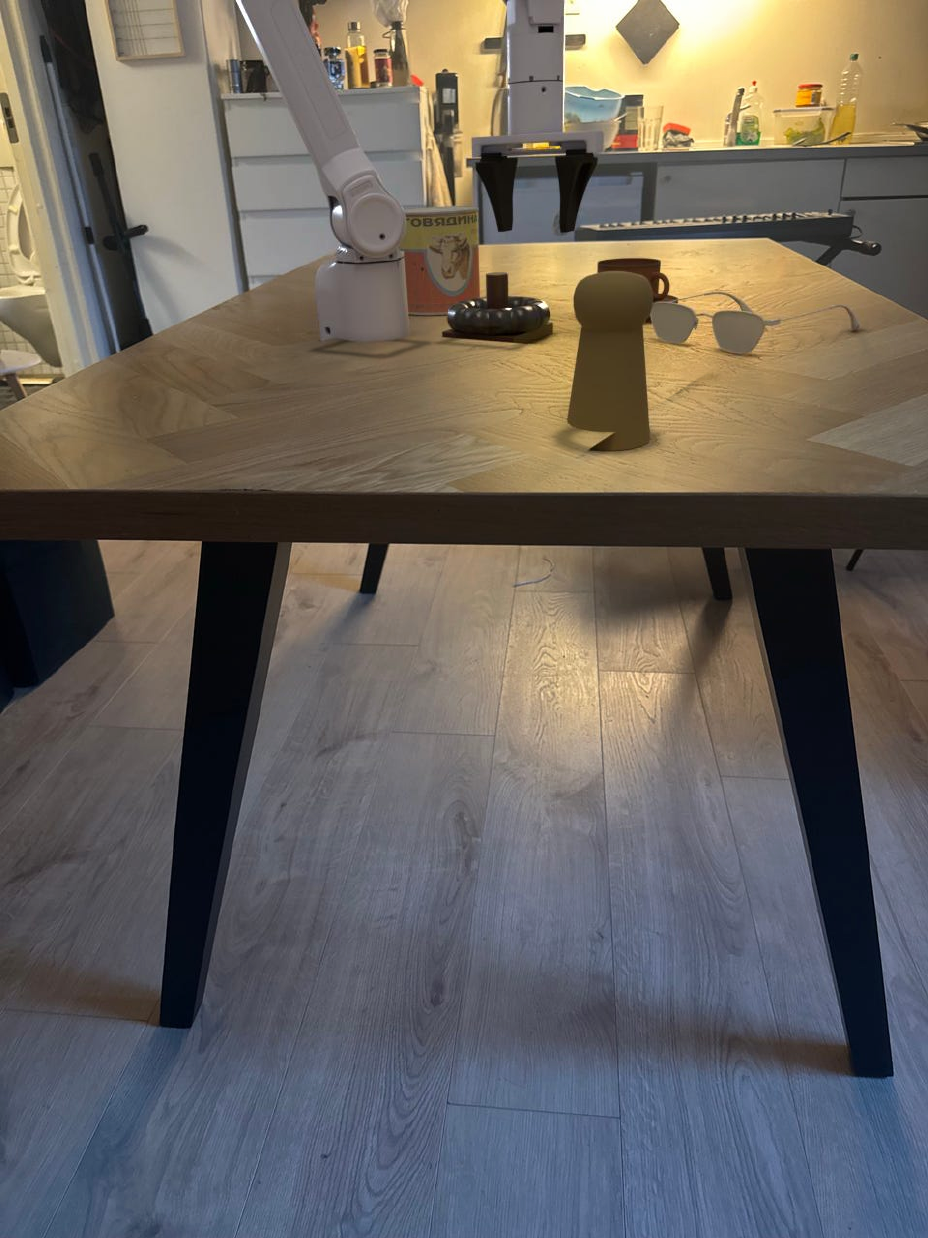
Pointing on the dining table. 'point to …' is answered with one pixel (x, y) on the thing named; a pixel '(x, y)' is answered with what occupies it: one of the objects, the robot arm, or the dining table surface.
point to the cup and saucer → (644, 268)
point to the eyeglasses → (719, 324)
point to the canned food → (440, 258)
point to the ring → (498, 316)
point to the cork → (611, 359)
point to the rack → (498, 300)
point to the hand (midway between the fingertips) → (535, 231)
